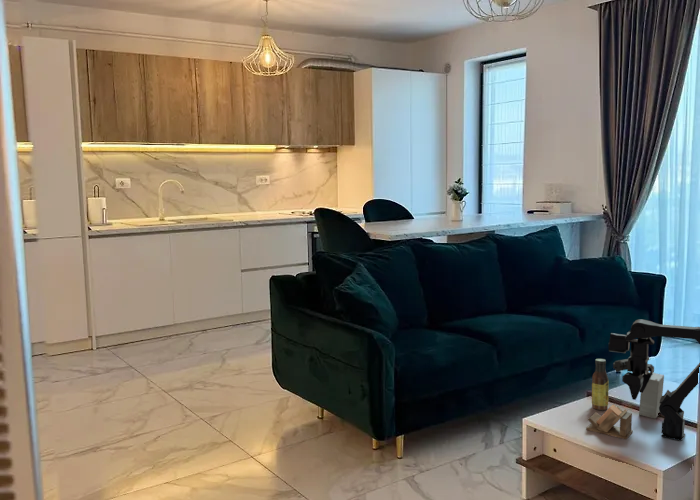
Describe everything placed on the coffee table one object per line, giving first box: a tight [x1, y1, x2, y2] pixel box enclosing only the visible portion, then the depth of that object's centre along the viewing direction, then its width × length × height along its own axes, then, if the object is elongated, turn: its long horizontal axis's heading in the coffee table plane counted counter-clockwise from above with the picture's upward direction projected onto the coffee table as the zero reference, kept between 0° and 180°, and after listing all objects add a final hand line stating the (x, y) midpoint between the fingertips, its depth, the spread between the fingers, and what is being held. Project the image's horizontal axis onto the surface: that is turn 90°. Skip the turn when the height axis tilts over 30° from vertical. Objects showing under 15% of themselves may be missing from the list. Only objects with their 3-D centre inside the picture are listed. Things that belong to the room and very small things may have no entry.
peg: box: [596, 404, 622, 425], centre depth 233 cm, size 8×4×4 cm
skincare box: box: [638, 371, 665, 419], centre depth 248 cm, size 8×7×16 cm
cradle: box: [585, 406, 634, 440], centre depth 234 cm, size 14×8×9 cm, turn 50°
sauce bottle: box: [591, 358, 610, 411], centre depth 255 cm, size 6×6×20 cm
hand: (637, 395), depth 233 cm, fingers open, 9 cm apart
